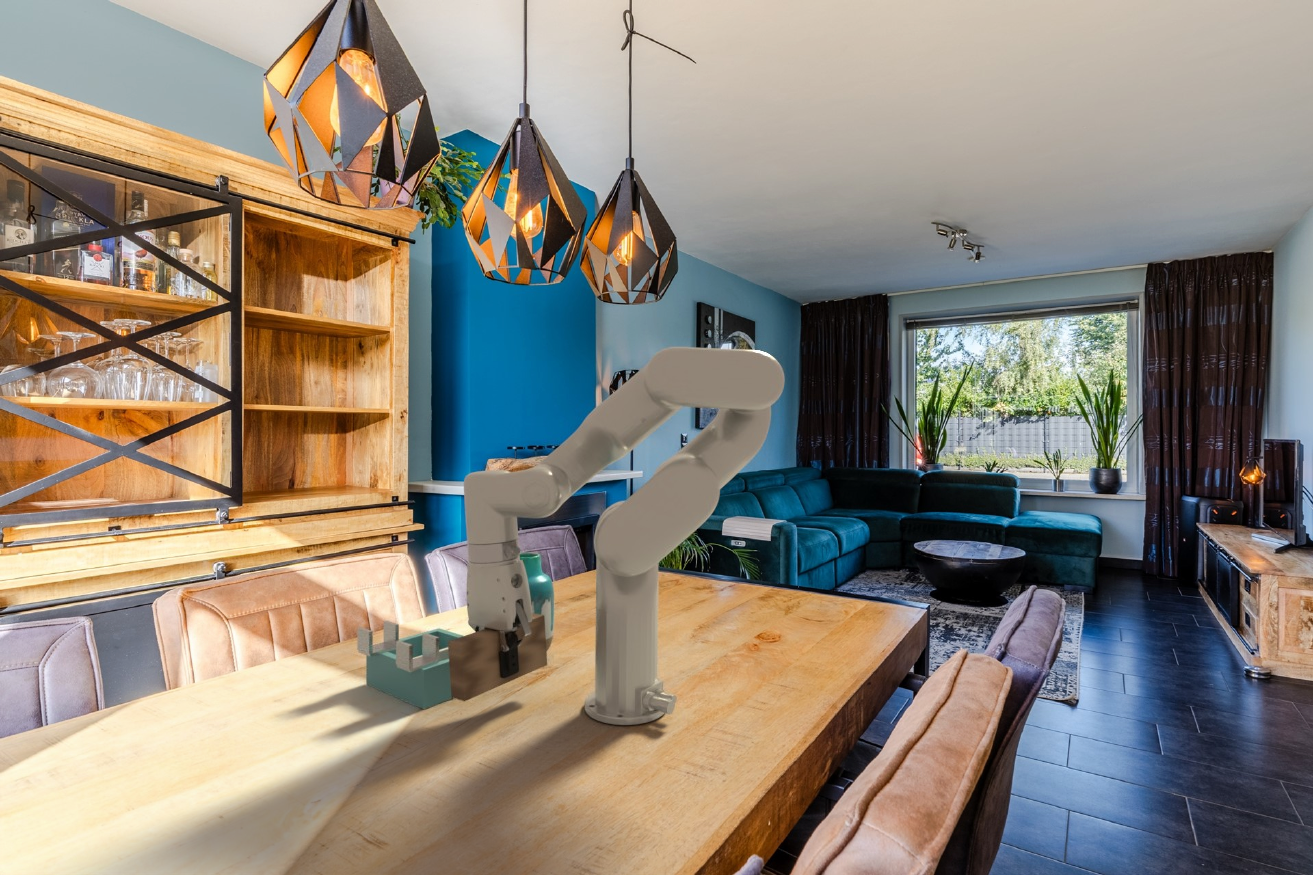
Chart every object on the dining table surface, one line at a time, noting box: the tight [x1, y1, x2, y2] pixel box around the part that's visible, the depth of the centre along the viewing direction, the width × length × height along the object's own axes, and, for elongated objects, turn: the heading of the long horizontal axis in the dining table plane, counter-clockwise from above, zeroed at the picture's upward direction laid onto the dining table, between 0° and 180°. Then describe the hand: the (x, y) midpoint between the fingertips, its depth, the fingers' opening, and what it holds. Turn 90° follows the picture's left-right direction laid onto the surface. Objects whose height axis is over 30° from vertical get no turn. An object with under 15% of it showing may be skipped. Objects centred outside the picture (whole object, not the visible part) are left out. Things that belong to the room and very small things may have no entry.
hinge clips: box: [356, 620, 439, 672], centre depth 105 cm, size 14×5×4 cm, turn 54°
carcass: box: [365, 627, 464, 710], centre depth 110 cm, size 16×14×6 cm
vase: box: [519, 552, 556, 652], centre depth 123 cm, size 11×11×19 cm
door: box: [448, 613, 548, 702], centre depth 100 cm, size 16×3×8 cm, turn 144°
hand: (501, 671), depth 100 cm, fingers closed on door, 3 cm apart
